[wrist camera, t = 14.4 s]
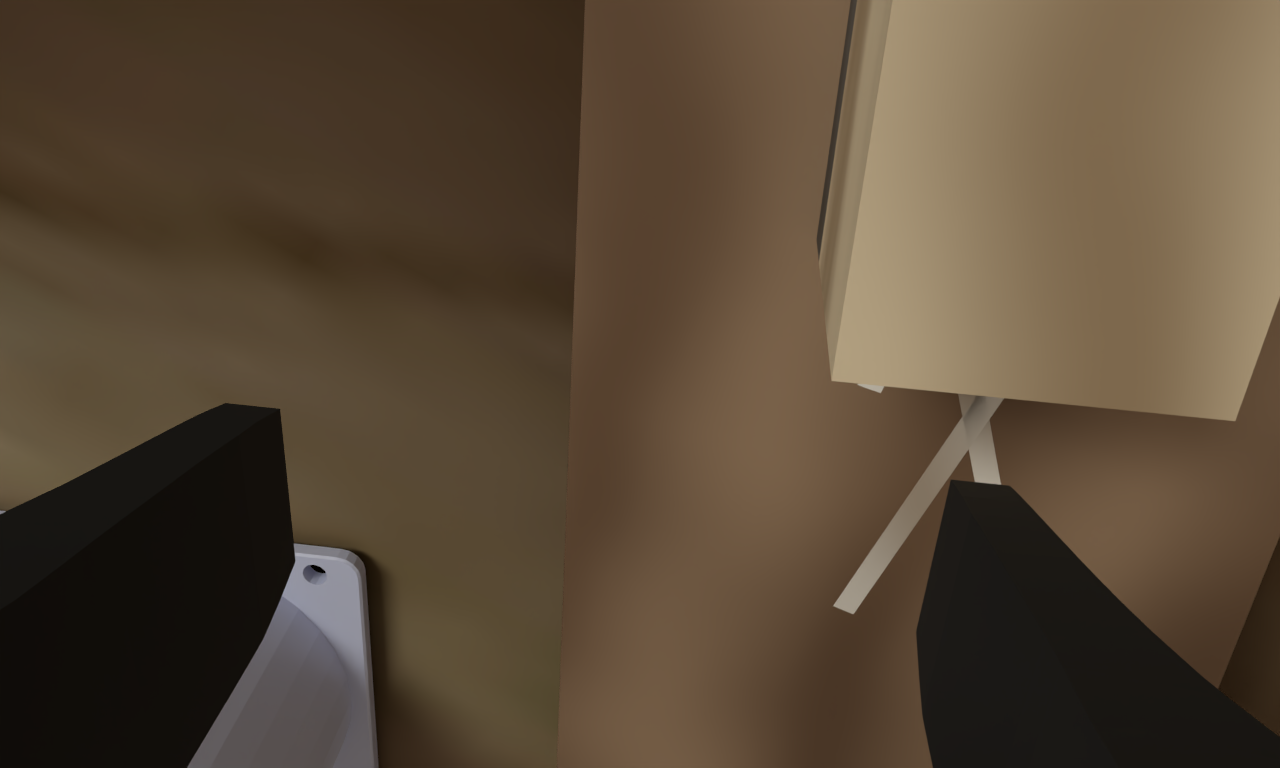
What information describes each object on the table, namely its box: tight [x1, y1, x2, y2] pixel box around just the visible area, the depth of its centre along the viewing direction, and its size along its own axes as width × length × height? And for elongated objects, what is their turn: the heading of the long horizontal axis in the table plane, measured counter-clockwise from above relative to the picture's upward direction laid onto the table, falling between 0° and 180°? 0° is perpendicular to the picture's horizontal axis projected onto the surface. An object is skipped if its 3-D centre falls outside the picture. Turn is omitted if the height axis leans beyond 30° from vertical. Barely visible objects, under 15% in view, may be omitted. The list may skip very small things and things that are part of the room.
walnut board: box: [557, 0, 1280, 768], centre depth 21 cm, size 13×26×2 cm, turn 177°
